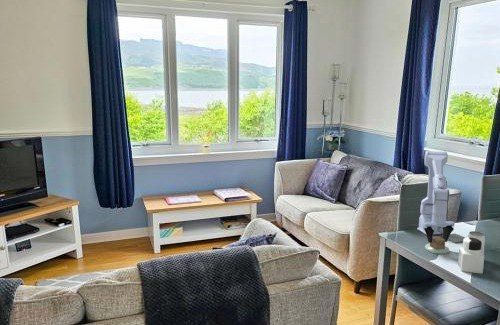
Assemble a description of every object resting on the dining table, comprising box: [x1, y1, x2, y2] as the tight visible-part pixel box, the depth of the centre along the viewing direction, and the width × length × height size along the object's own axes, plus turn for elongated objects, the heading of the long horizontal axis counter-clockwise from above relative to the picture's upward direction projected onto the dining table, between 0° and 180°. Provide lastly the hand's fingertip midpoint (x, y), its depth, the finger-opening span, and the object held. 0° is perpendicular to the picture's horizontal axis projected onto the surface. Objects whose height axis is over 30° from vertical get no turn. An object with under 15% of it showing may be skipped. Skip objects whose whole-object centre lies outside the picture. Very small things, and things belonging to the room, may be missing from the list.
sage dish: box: [424, 242, 450, 255], centre depth 175 cm, size 10×10×1 cm
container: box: [457, 237, 485, 274], centre depth 154 cm, size 8×8×13 cm
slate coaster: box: [440, 233, 466, 244], centre depth 187 cm, size 9×9×1 cm
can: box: [467, 230, 486, 256], centre depth 163 cm, size 6×6×12 cm
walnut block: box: [429, 236, 446, 250], centre depth 174 cm, size 4×4×4 cm
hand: (437, 241), depth 174 cm, fingers open, 7 cm apart
